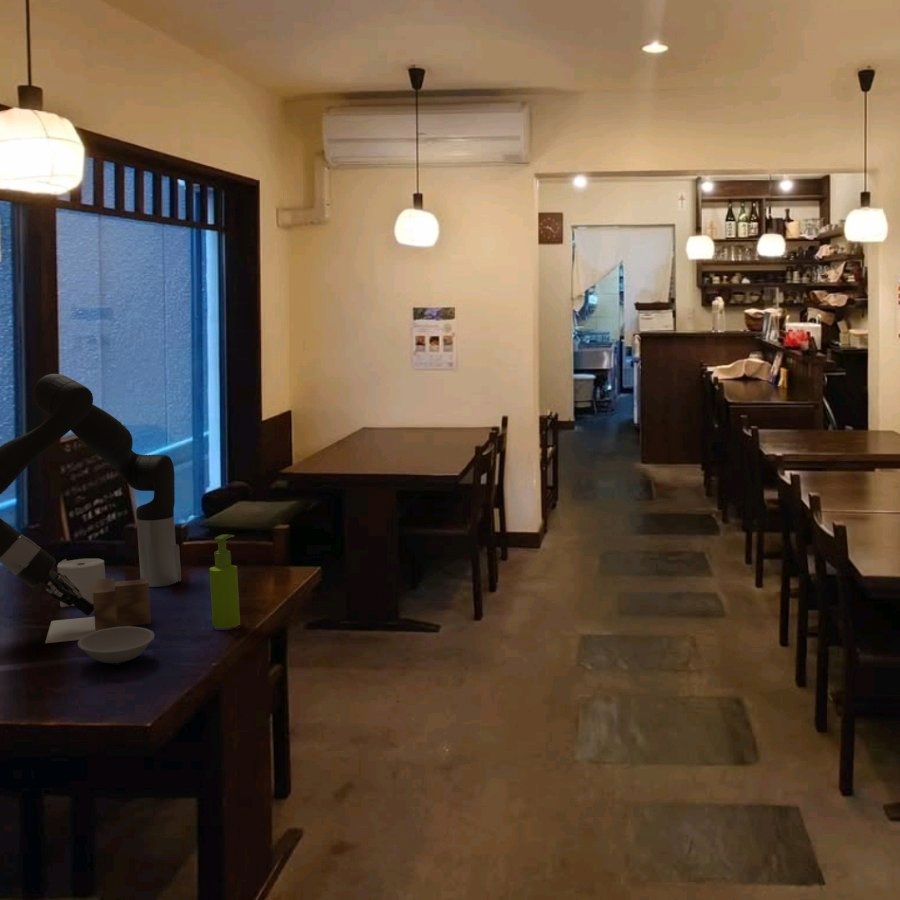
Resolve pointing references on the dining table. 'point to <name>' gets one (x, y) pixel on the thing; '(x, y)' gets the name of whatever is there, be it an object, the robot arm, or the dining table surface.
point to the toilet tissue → (82, 575)
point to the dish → (116, 643)
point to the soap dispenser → (224, 587)
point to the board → (70, 629)
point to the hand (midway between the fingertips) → (91, 611)
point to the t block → (121, 603)
